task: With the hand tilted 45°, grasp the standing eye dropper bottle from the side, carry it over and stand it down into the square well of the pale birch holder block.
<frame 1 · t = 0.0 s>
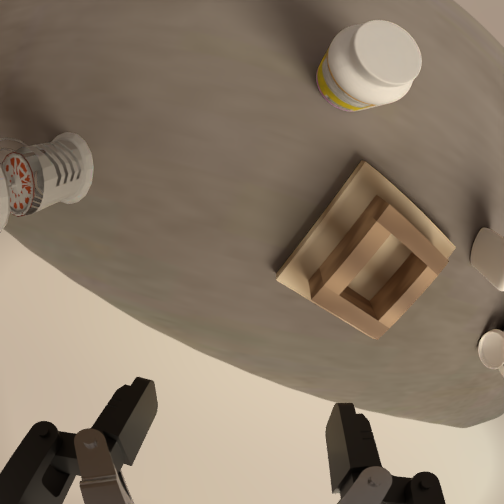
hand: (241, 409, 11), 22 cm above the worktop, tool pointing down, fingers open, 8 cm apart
eye dropper bottle: (479, 245, 29), on the worktop
french press: (64, 163, 30), on the worktop
supplement bottle: (346, 82, 24), on the worktop
spread jar: (497, 337, 35), on the worktop
birch holder: (370, 257, 31), on the worktop
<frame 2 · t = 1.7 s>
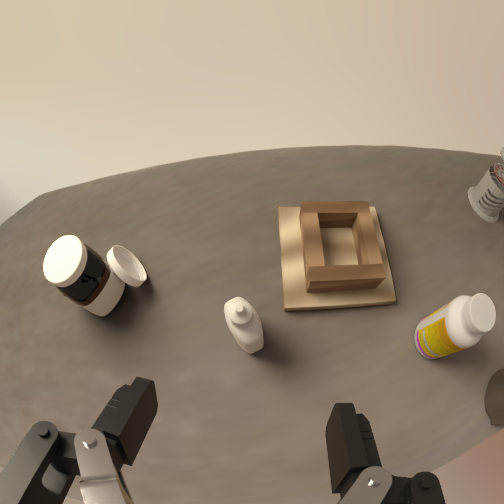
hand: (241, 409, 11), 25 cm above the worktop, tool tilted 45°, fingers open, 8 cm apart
eye dropper bottle: (247, 333, 37), on the worktop
french press: (486, 205, 46), on the worktop
supplement bottle: (430, 338, 35), on the worktop
spread jar: (113, 285, 41), on the worktop
birch holder: (334, 256, 42), on the worktop
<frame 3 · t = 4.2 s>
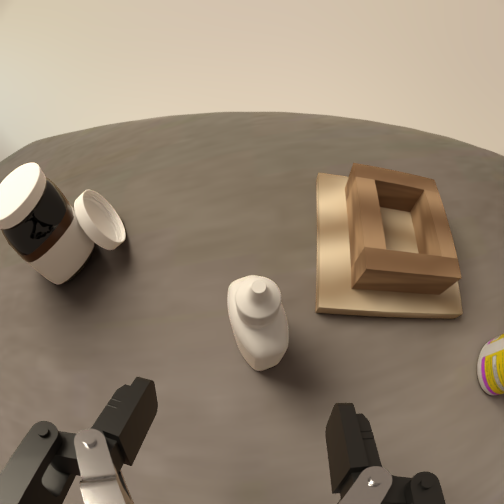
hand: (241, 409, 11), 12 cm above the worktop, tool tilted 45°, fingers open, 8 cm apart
eye dropper bottle: (256, 340, 24), on the worktop
supplement bottle: (491, 368, 21), on the worktop
spread jar: (82, 247, 29), on the worktop
birch holder: (387, 245, 29), on the worktop
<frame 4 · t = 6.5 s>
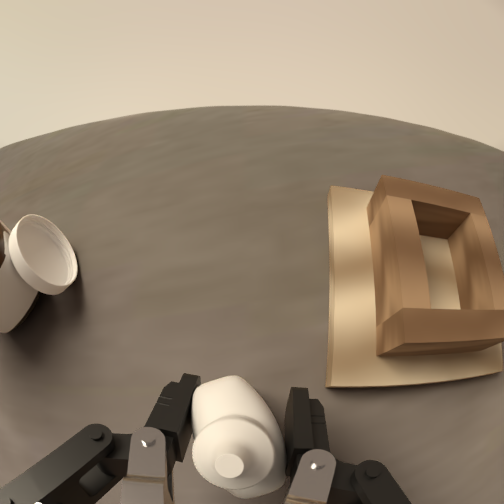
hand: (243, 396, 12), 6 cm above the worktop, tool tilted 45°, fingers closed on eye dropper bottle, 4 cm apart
eye dropper bottle: (243, 424, 16), on the worktop, touching gripper
spread jar: (32, 283, 21), on the worktop
birch holder: (420, 286, 20), on the worktop
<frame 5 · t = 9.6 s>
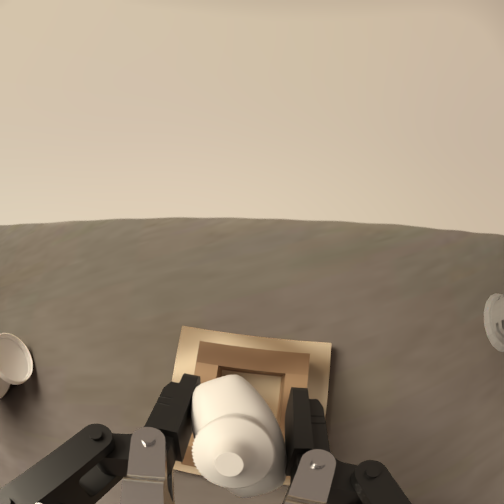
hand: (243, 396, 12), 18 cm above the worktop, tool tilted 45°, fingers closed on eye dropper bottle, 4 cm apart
eye dropper bottle: (243, 424, 16), point 12 cm above the worktop, touching gripper
spread jar: (9, 365, 27), on the worktop
birch holder: (247, 410, 27), on the worktop
when the fingers open (8 cm above the worktop, at t = 12.5 s): eye dropper bottle drops 1 cm, resting on birch holder.
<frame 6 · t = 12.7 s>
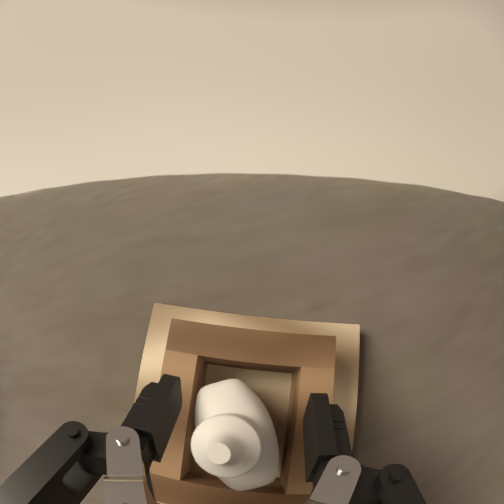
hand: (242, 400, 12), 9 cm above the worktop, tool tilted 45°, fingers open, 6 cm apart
eye dropper bottle: (247, 425, 17), point 1 cm above the worktop, touching birch holder
birch holder: (243, 421, 18), on the worktop
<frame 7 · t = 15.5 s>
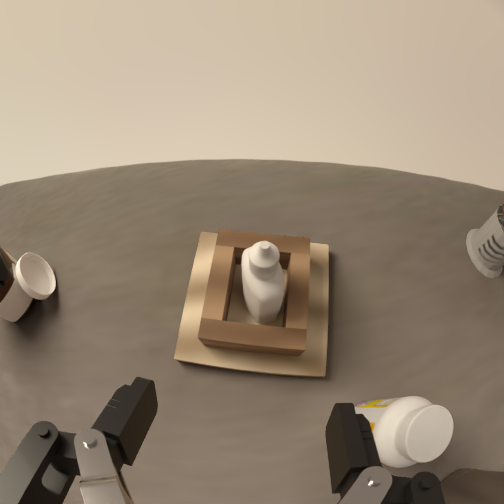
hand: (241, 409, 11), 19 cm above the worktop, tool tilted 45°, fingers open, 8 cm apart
eye dropper bottle: (260, 301, 32), point 1 cm above the worktop, touching birch holder
french press: (488, 255, 36), on the worktop
supplement bottle: (367, 427, 25), on the worktop
spread jar: (30, 291, 33), on the worktop
birch holder: (257, 303, 33), on the worktop
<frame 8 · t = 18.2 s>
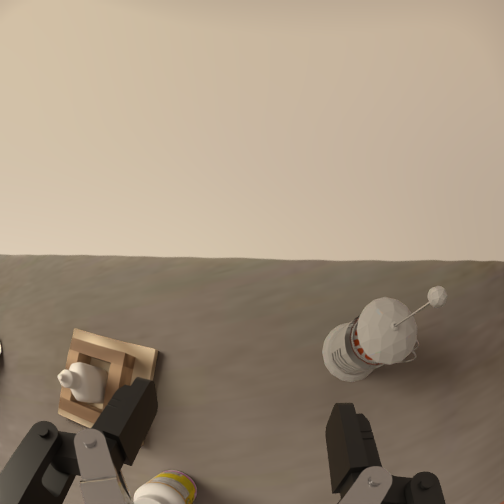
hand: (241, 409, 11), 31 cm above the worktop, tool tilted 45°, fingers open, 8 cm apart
eye dropper bottle: (103, 386, 37), point 1 cm above the worktop, touching birch holder
french press: (356, 353, 41), on the worktop
supplement bottle: (177, 486, 30), on the worktop
birch holder: (106, 385, 38), on the worktop
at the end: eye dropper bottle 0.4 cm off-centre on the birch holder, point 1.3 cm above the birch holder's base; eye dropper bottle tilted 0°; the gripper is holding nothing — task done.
